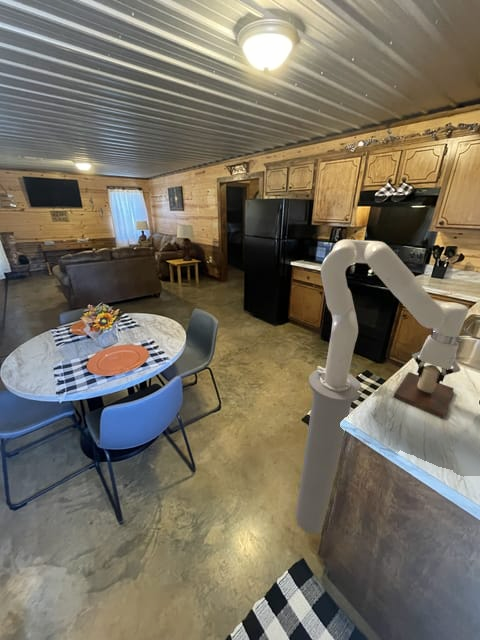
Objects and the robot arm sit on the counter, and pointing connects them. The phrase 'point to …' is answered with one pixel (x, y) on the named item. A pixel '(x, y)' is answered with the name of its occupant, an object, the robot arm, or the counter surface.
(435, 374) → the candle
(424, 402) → the walnut board
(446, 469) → the counter surface
